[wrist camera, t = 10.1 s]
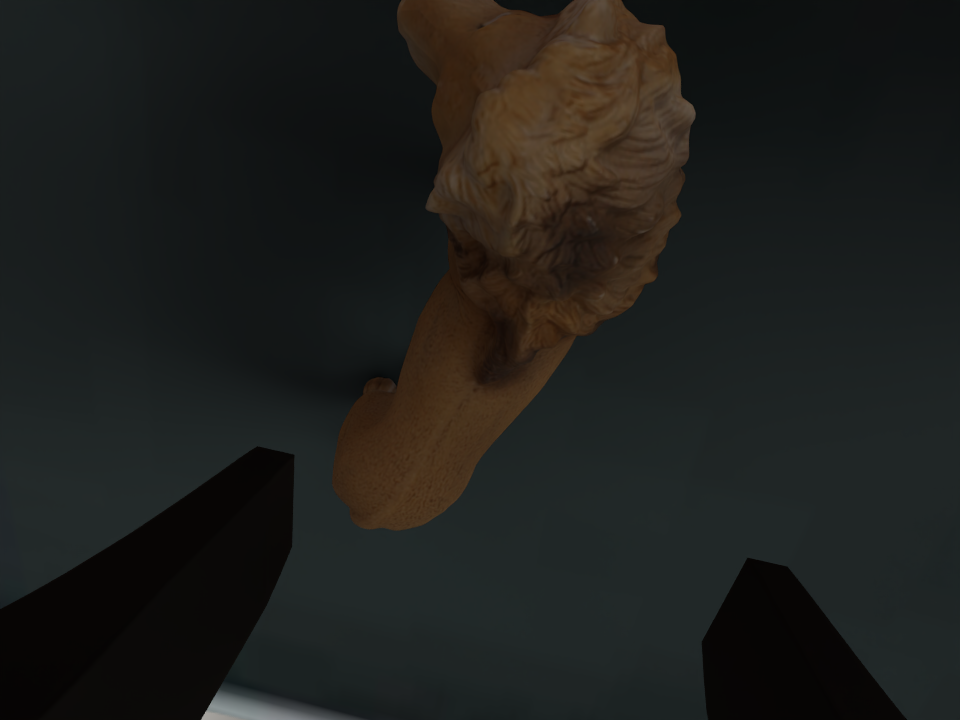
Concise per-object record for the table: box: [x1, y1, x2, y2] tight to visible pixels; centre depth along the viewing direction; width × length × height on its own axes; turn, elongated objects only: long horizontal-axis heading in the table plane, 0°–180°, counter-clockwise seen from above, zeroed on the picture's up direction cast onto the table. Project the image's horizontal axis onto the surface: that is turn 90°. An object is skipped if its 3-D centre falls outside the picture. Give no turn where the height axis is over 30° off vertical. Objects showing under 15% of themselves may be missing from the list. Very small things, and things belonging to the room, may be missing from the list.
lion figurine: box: [332, 0, 696, 530], centre depth 14 cm, size 15×5×9 cm, turn 161°
